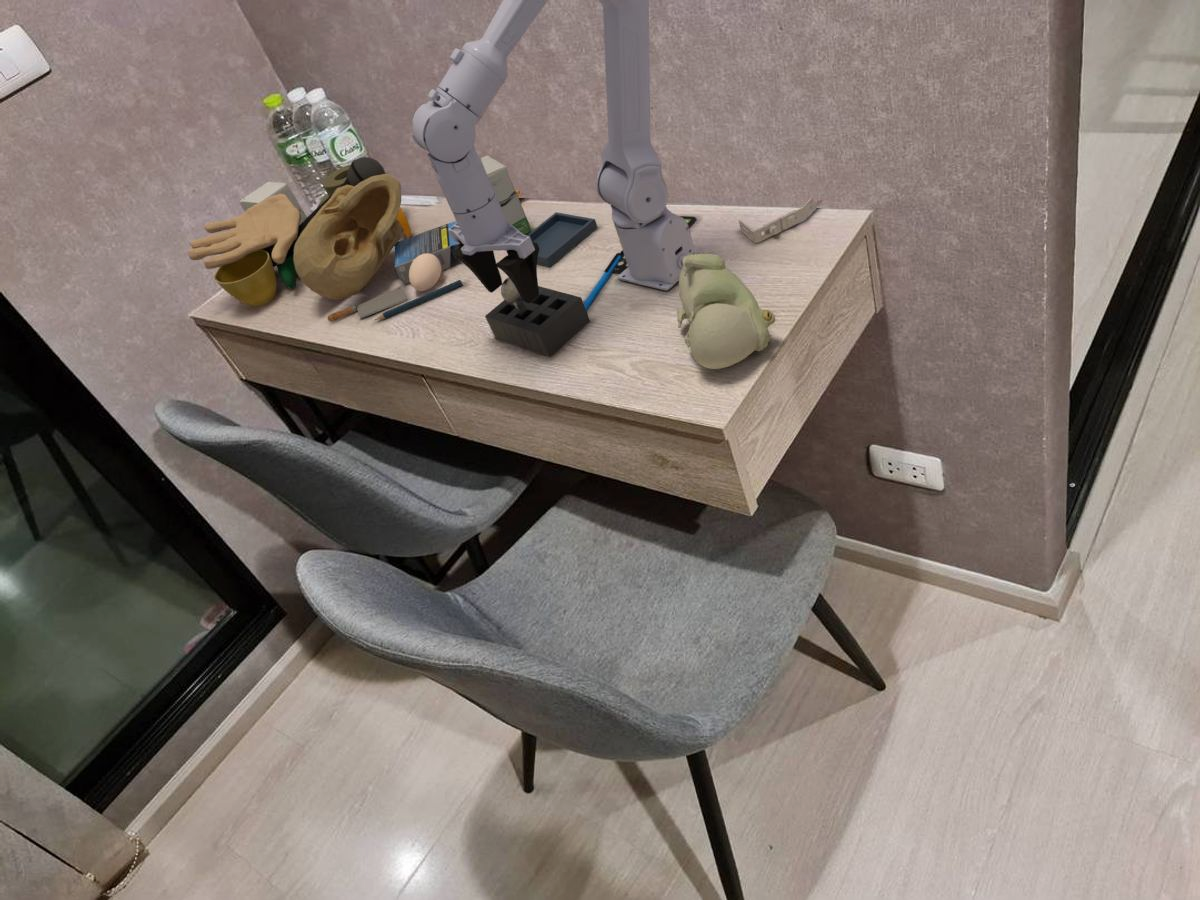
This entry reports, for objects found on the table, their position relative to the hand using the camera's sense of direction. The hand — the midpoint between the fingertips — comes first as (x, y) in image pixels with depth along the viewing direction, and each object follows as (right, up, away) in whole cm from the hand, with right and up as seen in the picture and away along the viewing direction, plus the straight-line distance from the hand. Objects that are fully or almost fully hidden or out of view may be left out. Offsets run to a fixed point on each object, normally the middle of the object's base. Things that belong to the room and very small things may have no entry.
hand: (513, 293), depth 112 cm
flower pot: (-50, +7, +42) cm, 65 cm away
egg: (-16, +11, +25) cm, 32 cm away
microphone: (-42, +18, +41) cm, 62 cm away
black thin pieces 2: (-56, +13, +42) cm, 71 cm away
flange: (-29, +25, +37) cm, 54 cm away
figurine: (+21, -5, -12) cm, 25 cm away
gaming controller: (-41, +10, +43) cm, 60 cm away
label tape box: (-23, +11, +30) cm, 39 cm away
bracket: (+46, +16, +6) cm, 49 cm away
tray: (+4, +12, +23) cm, 26 cm away
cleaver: (-25, +1, +24) cm, 35 cm away
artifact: (-11, +17, +34) cm, 40 cm away
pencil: (-10, +6, +22) cm, 25 cm away
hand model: (-43, +23, +39) cm, 62 cm away
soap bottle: (-40, +26, +54) cm, 72 cm away
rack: (+3, -4, +5) cm, 8 cm away
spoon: (+2, -5, +5) cm, 7 cm away
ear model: (-24, +18, +20) cm, 36 cm away
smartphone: (+19, +9, +13) cm, 25 cm away
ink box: (-4, +16, +31) cm, 35 cm away
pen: (+11, +2, +9) cm, 14 cm away
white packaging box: (-47, +18, +54) cm, 74 cm away
